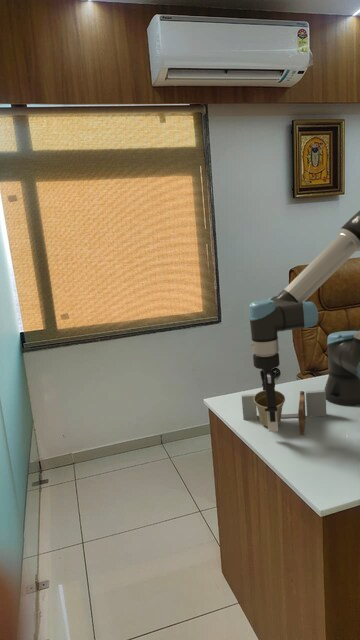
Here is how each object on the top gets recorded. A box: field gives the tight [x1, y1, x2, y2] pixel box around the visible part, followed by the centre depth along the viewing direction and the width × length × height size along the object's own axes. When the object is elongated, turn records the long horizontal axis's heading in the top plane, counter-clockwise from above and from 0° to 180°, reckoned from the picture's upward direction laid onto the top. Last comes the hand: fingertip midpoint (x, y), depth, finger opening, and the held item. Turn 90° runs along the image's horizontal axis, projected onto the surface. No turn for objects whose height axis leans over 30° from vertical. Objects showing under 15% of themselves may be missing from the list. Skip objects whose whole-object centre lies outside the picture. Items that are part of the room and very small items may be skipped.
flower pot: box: [254, 390, 286, 428], centre depth 127 cm, size 9×9×9 cm
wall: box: [241, 389, 328, 421], centre depth 132 cm, size 26×2×8 cm, turn 83°
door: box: [297, 390, 309, 436], centre depth 125 cm, size 14×2×8 cm, turn 162°
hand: (271, 420), depth 125 cm, fingers open, 13 cm apart
